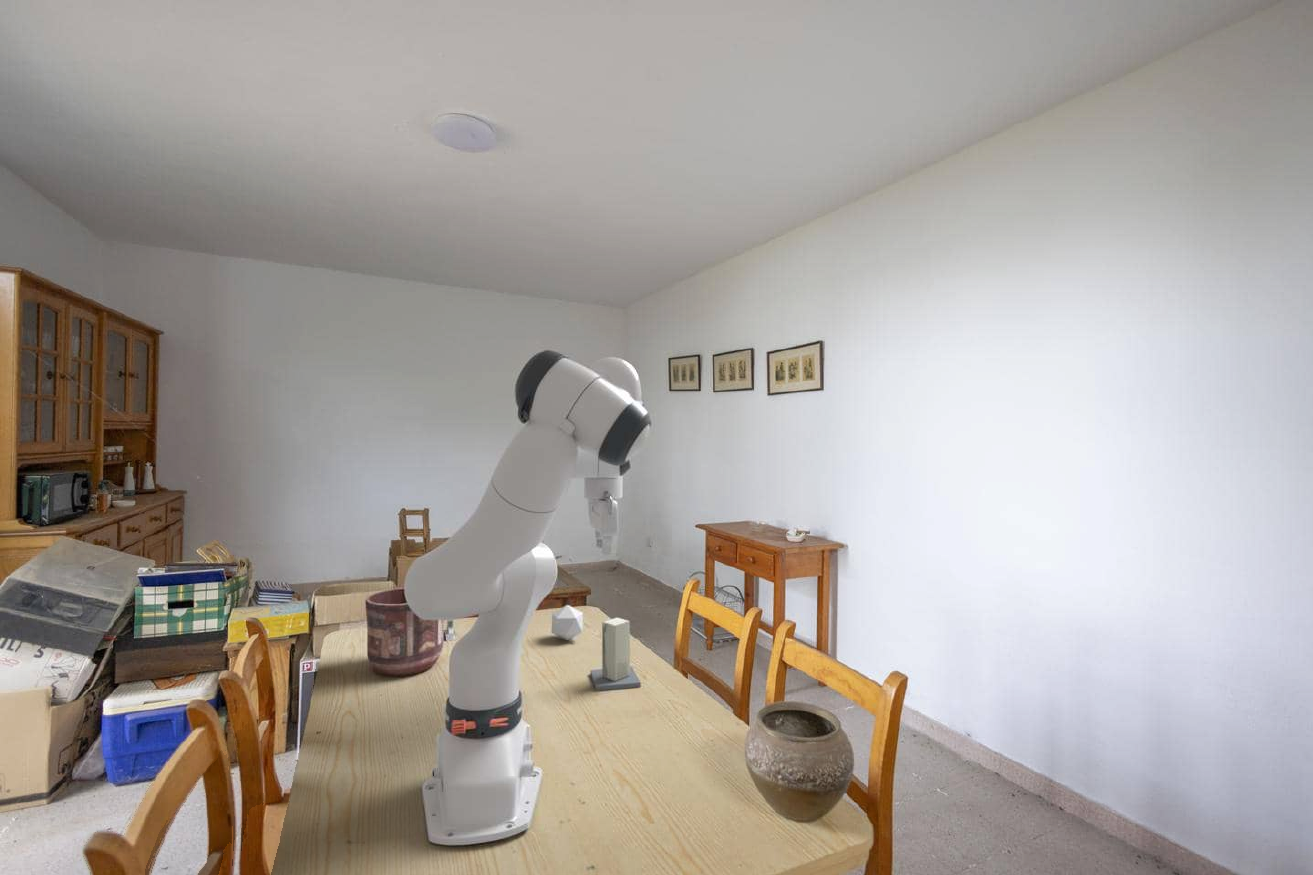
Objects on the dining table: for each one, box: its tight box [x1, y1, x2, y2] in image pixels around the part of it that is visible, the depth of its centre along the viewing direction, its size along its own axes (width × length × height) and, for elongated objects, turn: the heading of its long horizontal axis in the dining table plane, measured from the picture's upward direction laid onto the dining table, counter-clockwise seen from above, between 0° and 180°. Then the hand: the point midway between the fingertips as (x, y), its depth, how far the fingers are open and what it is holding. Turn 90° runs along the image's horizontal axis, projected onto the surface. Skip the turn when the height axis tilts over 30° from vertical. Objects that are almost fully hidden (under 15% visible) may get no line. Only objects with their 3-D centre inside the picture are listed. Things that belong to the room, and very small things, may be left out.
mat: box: [590, 666, 641, 692], centre depth 141 cm, size 10×10×1 cm
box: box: [601, 617, 631, 681], centre depth 140 cm, size 5×4×13 cm
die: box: [551, 604, 584, 641], centre depth 169 cm, size 8×9×10 cm
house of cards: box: [443, 620, 458, 642], centre depth 168 cm, size 9×9×8 cm
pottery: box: [365, 587, 445, 678], centre depth 147 cm, size 18×18×18 cm
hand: (603, 550), depth 140 cm, fingers open, 8 cm apart
